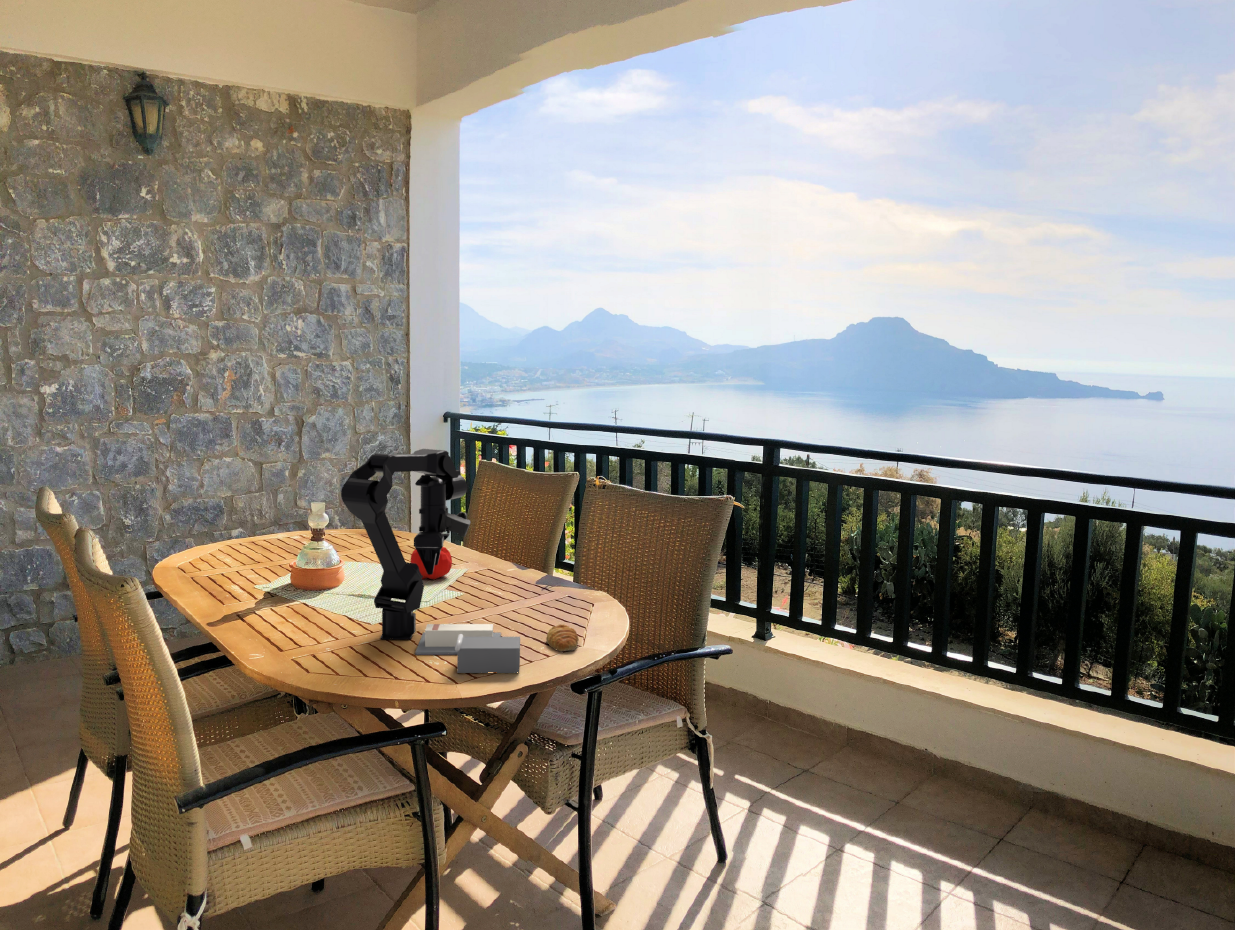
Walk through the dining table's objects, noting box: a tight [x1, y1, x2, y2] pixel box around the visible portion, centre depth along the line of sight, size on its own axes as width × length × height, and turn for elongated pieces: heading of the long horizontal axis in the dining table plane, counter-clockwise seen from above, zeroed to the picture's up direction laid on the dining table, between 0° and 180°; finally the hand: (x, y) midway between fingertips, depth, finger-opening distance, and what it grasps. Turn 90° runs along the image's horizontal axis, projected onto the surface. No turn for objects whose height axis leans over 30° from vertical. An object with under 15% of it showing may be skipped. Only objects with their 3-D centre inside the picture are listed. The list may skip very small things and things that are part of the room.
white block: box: [424, 623, 494, 647], centre depth 183 cm, size 14×4×4 cm, turn 96°
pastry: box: [545, 623, 580, 652], centre depth 186 cm, size 9×7×4 cm
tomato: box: [409, 546, 453, 580], centre depth 241 cm, size 11×12×9 cm
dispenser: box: [455, 634, 521, 674], centre depth 171 cm, size 12×8×6 cm, turn 96°
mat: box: [414, 631, 502, 656], centre depth 184 cm, size 17×13×1 cm
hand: (432, 569), depth 200 cm, fingers open, 9 cm apart
